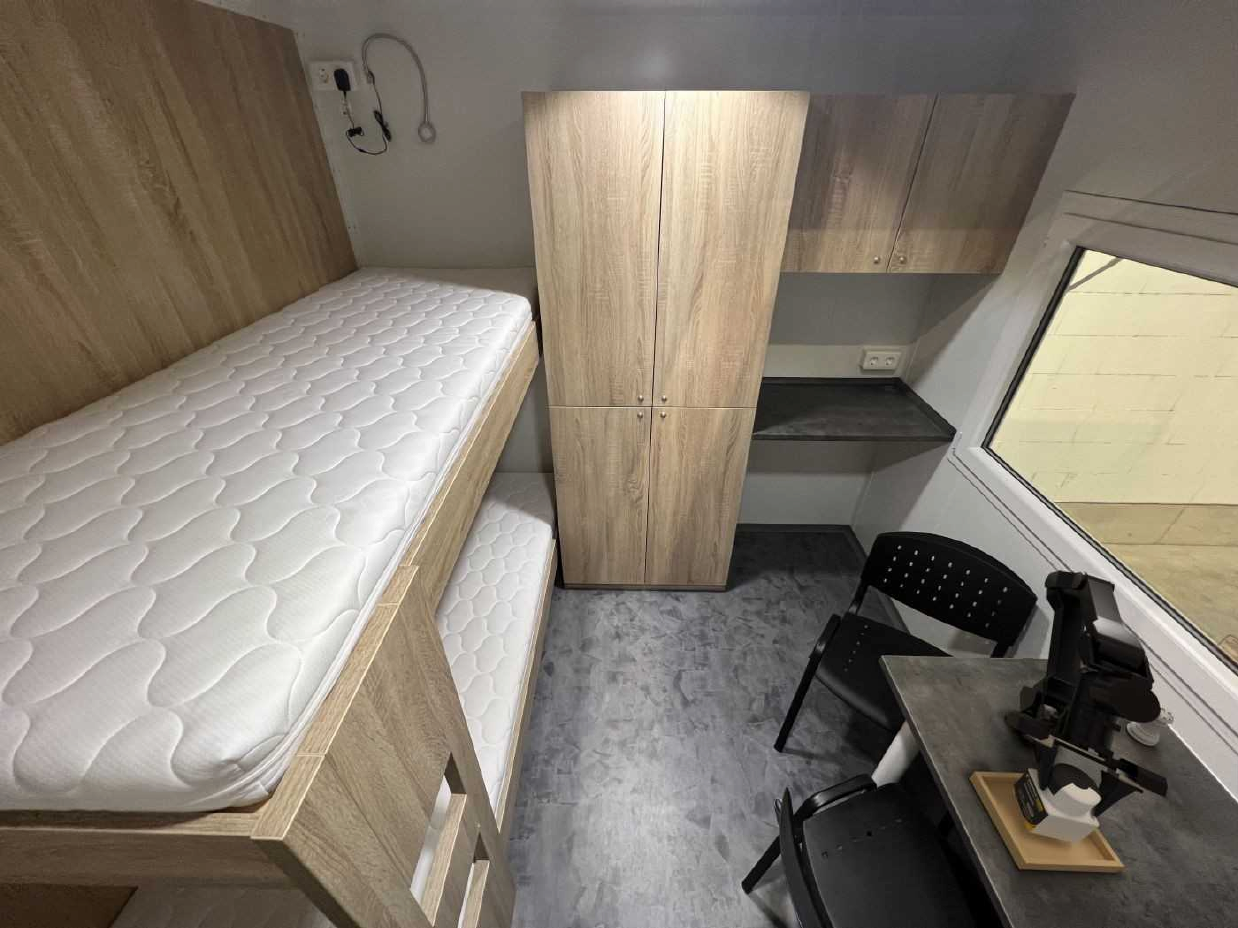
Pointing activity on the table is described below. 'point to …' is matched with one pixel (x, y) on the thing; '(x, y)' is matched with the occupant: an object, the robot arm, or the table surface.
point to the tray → (1035, 847)
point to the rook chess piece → (1150, 728)
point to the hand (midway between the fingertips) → (1067, 802)
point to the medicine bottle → (1058, 803)
